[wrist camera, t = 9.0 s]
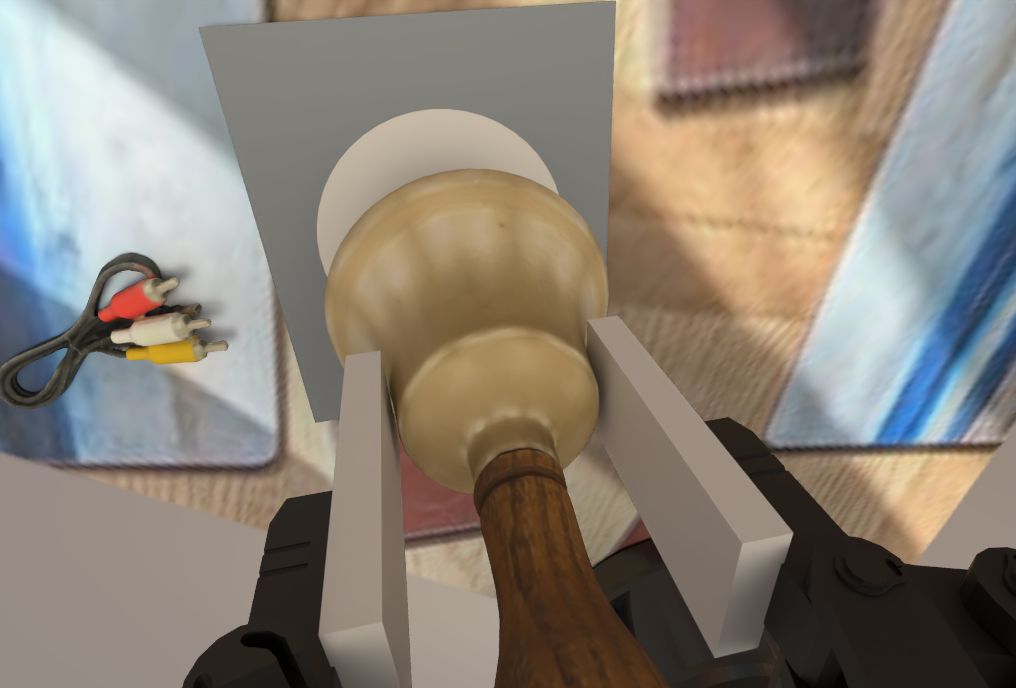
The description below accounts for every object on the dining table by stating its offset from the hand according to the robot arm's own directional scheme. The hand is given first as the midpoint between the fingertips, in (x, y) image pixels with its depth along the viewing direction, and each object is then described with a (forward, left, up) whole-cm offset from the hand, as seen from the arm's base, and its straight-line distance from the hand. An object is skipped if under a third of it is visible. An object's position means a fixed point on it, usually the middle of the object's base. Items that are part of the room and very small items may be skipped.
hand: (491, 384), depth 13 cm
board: (0, 0, -12) cm, 12 cm away
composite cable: (-3, +15, -13) cm, 20 cm away
